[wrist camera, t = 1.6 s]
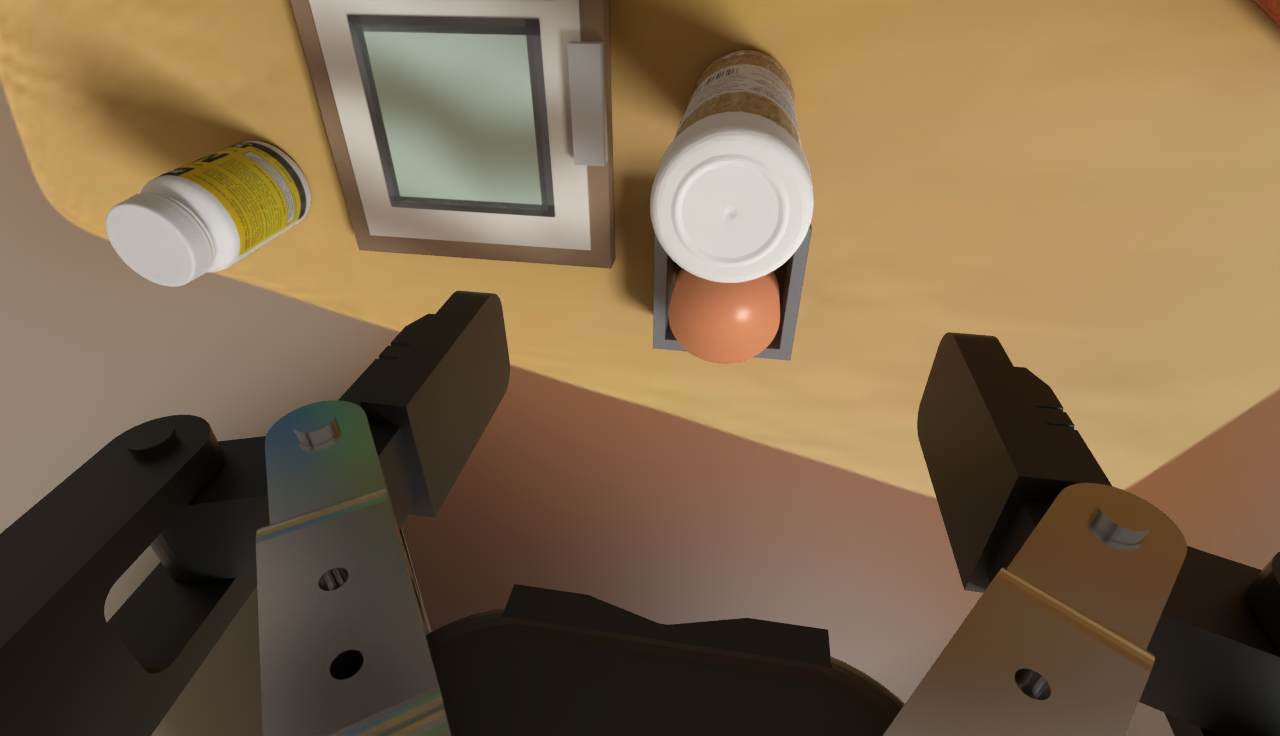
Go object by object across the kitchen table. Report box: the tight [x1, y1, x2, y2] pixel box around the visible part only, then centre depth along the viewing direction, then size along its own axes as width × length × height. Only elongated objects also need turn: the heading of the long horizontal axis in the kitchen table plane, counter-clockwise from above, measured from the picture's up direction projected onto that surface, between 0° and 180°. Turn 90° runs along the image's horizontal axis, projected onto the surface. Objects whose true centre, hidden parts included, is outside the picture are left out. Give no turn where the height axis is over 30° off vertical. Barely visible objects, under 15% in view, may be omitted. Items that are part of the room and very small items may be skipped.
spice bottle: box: [650, 50, 814, 283], centre depth 23 cm, size 5×5×14 cm
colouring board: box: [290, 0, 615, 268], centre depth 29 cm, size 16×14×2 cm
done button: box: [668, 268, 780, 364], centre depth 30 cm, size 5×5×4 cm
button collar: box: [653, 223, 812, 360], centre depth 32 cm, size 7×7×3 cm
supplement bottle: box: [106, 141, 311, 287], centre depth 31 cm, size 5×5×8 cm
